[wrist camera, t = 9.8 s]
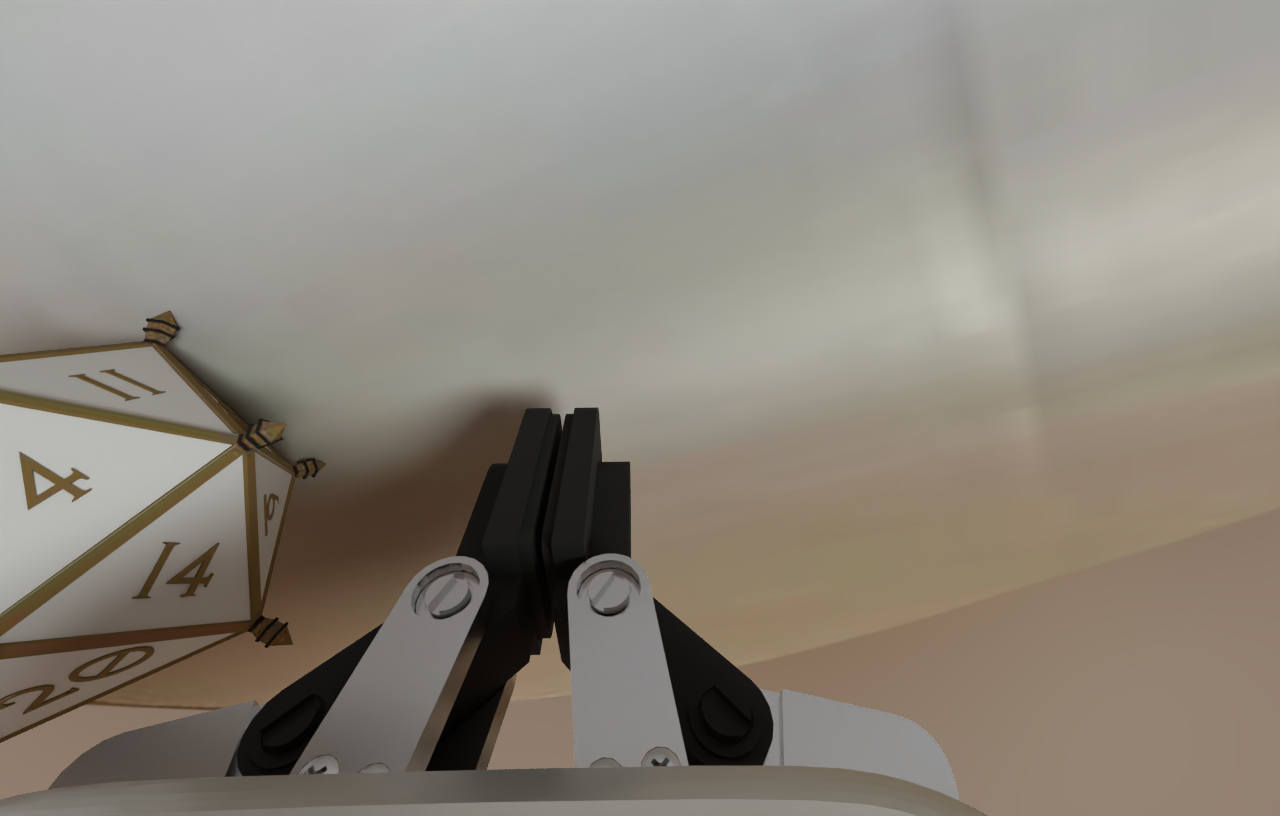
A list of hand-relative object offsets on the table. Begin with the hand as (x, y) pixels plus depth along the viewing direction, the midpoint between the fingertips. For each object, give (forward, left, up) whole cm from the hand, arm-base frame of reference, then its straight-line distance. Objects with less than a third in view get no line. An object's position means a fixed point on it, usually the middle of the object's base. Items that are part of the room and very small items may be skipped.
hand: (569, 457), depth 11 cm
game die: (0, -10, -2) cm, 10 cm away
